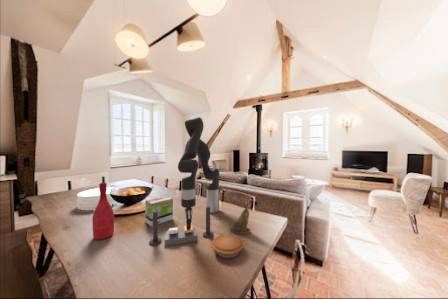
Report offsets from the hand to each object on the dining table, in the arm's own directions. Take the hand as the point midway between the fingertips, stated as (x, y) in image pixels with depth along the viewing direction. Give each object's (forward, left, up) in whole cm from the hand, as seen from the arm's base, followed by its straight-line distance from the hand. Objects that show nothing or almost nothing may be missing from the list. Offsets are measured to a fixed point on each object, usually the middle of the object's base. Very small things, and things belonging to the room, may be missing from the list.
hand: (188, 228), depth 89 cm
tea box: (+18, -29, -6) cm, 34 cm away
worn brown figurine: (-30, -2, -6) cm, 31 cm away
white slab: (+8, -3, -1) cm, 9 cm away
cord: (+17, -3, -6) cm, 18 cm away
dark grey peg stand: (-11, -3, -6) cm, 13 cm away
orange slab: (0, -3, -1) cm, 3 cm away
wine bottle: (+46, -17, -6) cm, 49 cm away
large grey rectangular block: (+4, -3, -6) cm, 8 cm away
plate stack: (+72, -74, -7) cm, 104 cm away
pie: (-18, +13, -7) cm, 23 cm away
